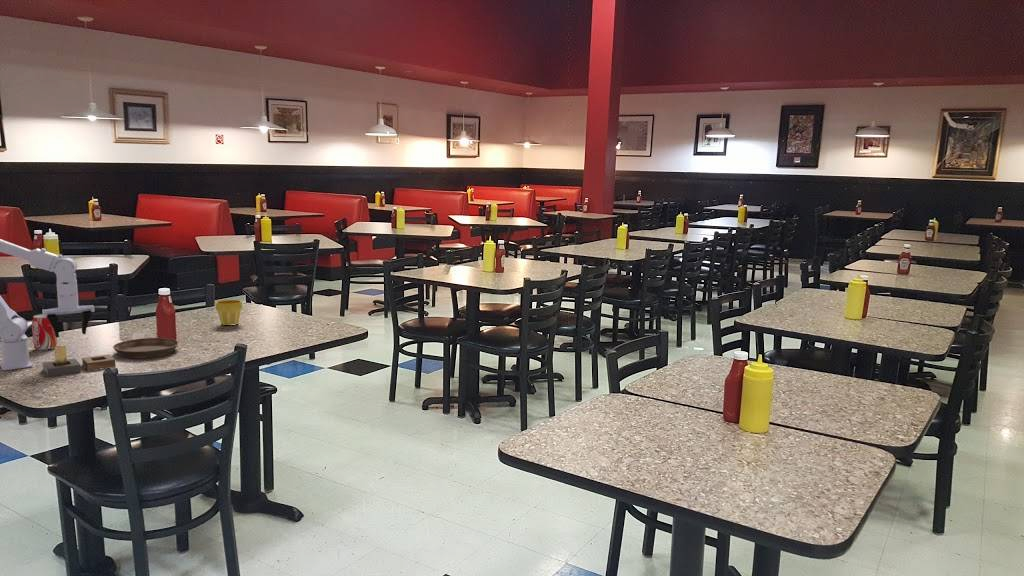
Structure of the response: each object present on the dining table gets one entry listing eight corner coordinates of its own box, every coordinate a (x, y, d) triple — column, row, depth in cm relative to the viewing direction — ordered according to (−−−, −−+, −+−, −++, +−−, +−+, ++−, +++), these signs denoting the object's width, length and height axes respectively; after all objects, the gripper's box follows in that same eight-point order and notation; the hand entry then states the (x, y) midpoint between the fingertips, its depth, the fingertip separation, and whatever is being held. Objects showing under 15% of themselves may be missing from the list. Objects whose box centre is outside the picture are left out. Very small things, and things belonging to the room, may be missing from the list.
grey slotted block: (43, 370, 231) (42, 362, 231) (75, 365, 237) (74, 358, 237) (48, 376, 224) (47, 369, 224) (81, 372, 230) (80, 364, 230)
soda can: (29, 349, 254) (26, 316, 252) (47, 345, 261) (45, 312, 259) (43, 352, 252) (40, 318, 250) (62, 347, 258) (59, 314, 256)
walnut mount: (82, 365, 238) (82, 357, 237) (109, 361, 243) (109, 354, 243) (87, 370, 232) (87, 363, 232) (115, 366, 237) (115, 359, 237)
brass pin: (55, 370, 231) (53, 346, 229) (66, 369, 233) (64, 345, 231) (57, 373, 229) (55, 348, 227) (68, 371, 230) (66, 347, 229)
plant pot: (216, 322, 305) (215, 299, 303) (242, 321, 309) (241, 298, 307) (216, 327, 295) (215, 304, 294) (243, 326, 299) (242, 303, 297)
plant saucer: (152, 343, 270) (151, 334, 269) (191, 350, 261) (191, 341, 260) (100, 355, 251) (99, 346, 251) (140, 363, 242) (140, 354, 242)
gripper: (43, 298, 229) (46, 340, 231) (95, 294, 238) (98, 334, 240) (40, 295, 234) (43, 336, 236) (90, 291, 243) (93, 330, 246)
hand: (70, 335), depth 239 cm, fingers open, 7 cm apart
